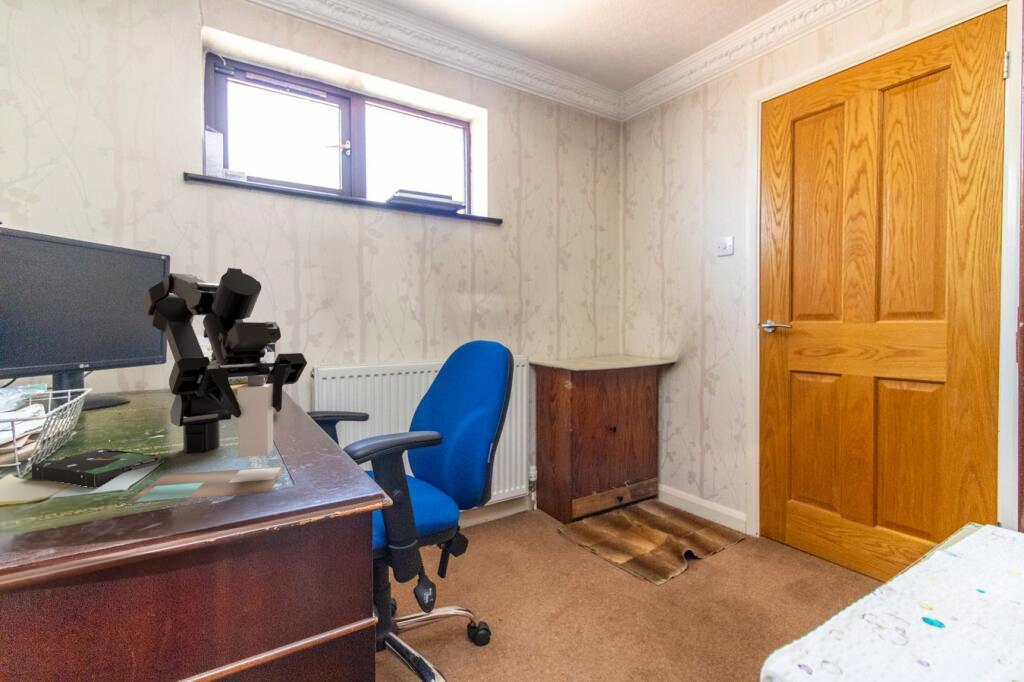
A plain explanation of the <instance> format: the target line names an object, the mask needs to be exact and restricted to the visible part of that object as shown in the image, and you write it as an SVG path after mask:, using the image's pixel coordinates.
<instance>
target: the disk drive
mask: <svg viewBox="0 0 1024 682" xmlns="http://www.w3.org/2000/svg"><path fill="white" fill-rule="evenodd" d="M162 462H164V459H163V458H162V457H161V455H156V454H149V453H147V454H146V453H141V452H133V451H127V450H119V449H111V448H100V449H96V450H92V451H88V452H83V453H77V454H72V455H69V456H64V457H63V458H62V459H60V460H59V459H58V460H46V461H41V462H36V463H33V464H32V463H31V478H32V479H36V480H41V481H43V480H44V481H49V482H54V481H56V482H55V483H60V482H64V483H63V484H66V483H70V484H69V485H72V484H76V485H75V486H78V485H81V486H80V487H83V486H87V487H86V488H90V487H93V488H92V489H97V488H96V487H98V488H101V487H103V486H104V485H106V484H108V483H109V482H111V481H112V480H114V479H116V478H118V477H119V476H120V475H123V474H124V473H126V472H130V471H134V470H137V469H141V468H145V467H147V466H148V467H149V466H151V465H156V464H159V463H162Z"/></svg>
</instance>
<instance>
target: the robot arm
mask: <svg viewBox="0 0 1024 682" xmlns="http://www.w3.org/2000/svg"><path fill="white" fill-rule="evenodd" d="M261 291H262V283H261V282H260V281H259V280H257V279H256V278H254V276H251V275H250V274H246V273H244V272H243V270H242V268H233V267H228V268H227V271H226V273H223V274H222V275H221V277H220V281H219V283H212V282H206V281H205V280H202V279H199V278H197V277H196V275H193V274H184V273H176V272H175V273H173V272H169V273H166V274H164V276H163V279H162V281H160V282H159V283H157V284H155V285H153V286H151V287H150V288H149V289H148V290H147V293H146V295H145V298H144V301H143V313H144V315H145V316H147V318H148V320H149V322H150V324H151V326H152V327H154V328H155V329H157V330H159V331H161V332H163V333H164V334H165V338H166V339H167V343H168V345H169V348H170V351H171V353H172V354H171V355H172V356H173V359H174V364H173V366H172V370H171V372H170V376H169V378H168V385H169V389H170V392H171V393H172V394H173V395H174V396H175V397H174V400H173V403H172V405H171V406H172V407H170V408H171V409H170V412H169V415H170V423H171V424H172V425H174V426H177V427H182V435H183V436H182V442H183V443H182V444H183V445H182V447H183V451H184V452H185V454H186V455H187V454H188V455H189V454H203V453H208V452H209V451H211V450H216V449H219V448H220V447H221V440H220V439H221V434H220V433H221V431H220V430H221V427H220V426H221V424H220V422H221V421H227V420H228V421H230V420H231V419H232V416H234V417H235V418H236V419H238V418H239V417H240V415H241V410H240V407H239V404H238V398H236V394H235V393H234V390H233V388H232V386H231V384H230V382H229V380H236V379H238V380H239V379H248V376H252V375H264V381H265V384H273V410H275V411H276V412H277V413H280V412H281V410H282V406H283V403H282V402H283V386H286V385H293V384H296V383H297V382H298V381H299V379H300V377H301V376H302V373H303V372H304V370H305V368H306V366H307V364H308V361H307V359H306V357H305V355H304V354H303V353H302V352H286V353H285V352H283V353H278V354H277V357H276V359H275V360H274V362H265V363H264V362H263V361H261V358H263V359H264V357H265V356H266V353H267V352H266V350H265V348H266V347H267V346H268V345H269V344H276V343H277V342H278V341H279V340H280V339H281V338H282V333H281V328H280V326H279V325H278V323H277V321H264V322H262V321H261V322H257V321H256V322H254V321H252V322H250V321H249V322H247V321H246V322H245V321H244V319H247V318H250V317H251V315H252V313H253V311H254V308H255V305H256V303H257V300H258V299H259V296H260V293H261ZM195 316H204V317H203V319H202V325H203V328H204V330H203V338H204V339H208V341H209V343H210V346H211V349H212V352H211V356H210V358H211V359H212V361H211V360H210V358H209V357H208V356H205V354H204V353H203V350H202V347H201V344H200V342H199V339H198V337H197V335H196V332H195V329H194V326H193V322H194V318H195Z"/></svg>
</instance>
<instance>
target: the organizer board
mask: <svg viewBox="0 0 1024 682" xmlns="http://www.w3.org/2000/svg"><path fill="white" fill-rule="evenodd" d="M285 467H286V465H282V466H269V467H255V468H253V467H252V468H240V469H239V468H238V469H227V470H213V471H212V470H211V471H199V472H198V471H197V472H185V473H172V474H171V473H170V474H169V473H168V474H163V475H162V476H161V477H160V478H158V479H157V480H156V481H154V482H152V483H151V484H150V485H149V486H147V487H146V488H144V489H143V490H142V491H140V492H139V493H137V494H136V495H135V496H133V497H132V498H130V499H129V500H128V501H126V502H124V505H132V504H143V503H144V504H145V503H157V502H166V501H170V502H171V501H177V500H179V501H181V500H190V499H191V500H193V499H201V498H211V497H212V498H215V497H225V496H237V495H249V494H260V493H261V494H263V493H270V491H271V490H272V488H273V487H274V486H275V483H276V482H277V480H278V478H279V477H280V476H281V474H282V472H283V471H284V469H285Z"/></svg>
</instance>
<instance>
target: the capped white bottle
mask: <svg viewBox="0 0 1024 682" xmlns="http://www.w3.org/2000/svg"><path fill="white" fill-rule="evenodd" d="M237 401H238V404H239V407H240V410H241V415H240V417H239V418H237V453H238V454H237V455H238V456H237V457H238V458H244V457H260V456H269V455H270V453H271V452H272V451H273V449H274V407H273V384H266V383H265V378H264V375H252V376H248V378H247V383H246V384H245V383H244V384H243V385H241V386H238V387H237Z"/></svg>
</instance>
